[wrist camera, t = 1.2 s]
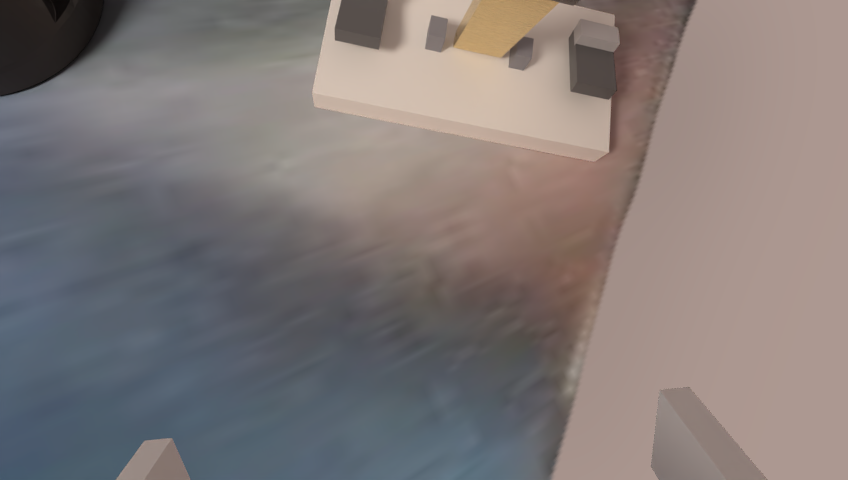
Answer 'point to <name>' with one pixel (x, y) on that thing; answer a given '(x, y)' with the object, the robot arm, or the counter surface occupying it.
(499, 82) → the switch panel
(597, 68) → the block
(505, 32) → the brass lever
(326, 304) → the counter surface
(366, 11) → the block
